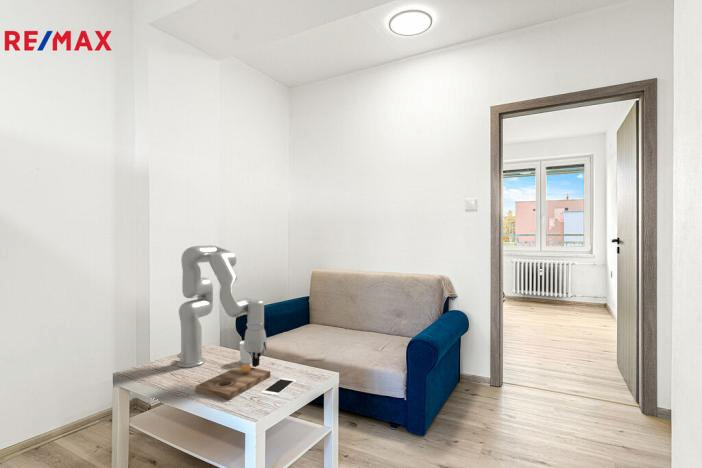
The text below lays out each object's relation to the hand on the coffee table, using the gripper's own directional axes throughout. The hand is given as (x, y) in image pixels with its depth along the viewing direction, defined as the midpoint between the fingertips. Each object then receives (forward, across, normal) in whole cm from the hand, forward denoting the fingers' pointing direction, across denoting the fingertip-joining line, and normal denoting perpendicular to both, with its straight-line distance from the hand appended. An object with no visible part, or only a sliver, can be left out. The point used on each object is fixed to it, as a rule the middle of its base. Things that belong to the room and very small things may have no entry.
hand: (255, 365), depth 169 cm
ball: (-1, 0, -7) cm, 7 cm away
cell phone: (+4, +19, -8) cm, 21 cm away
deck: (+3, 0, -14) cm, 14 cm away
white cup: (+4, -14, +10) cm, 18 cm away
